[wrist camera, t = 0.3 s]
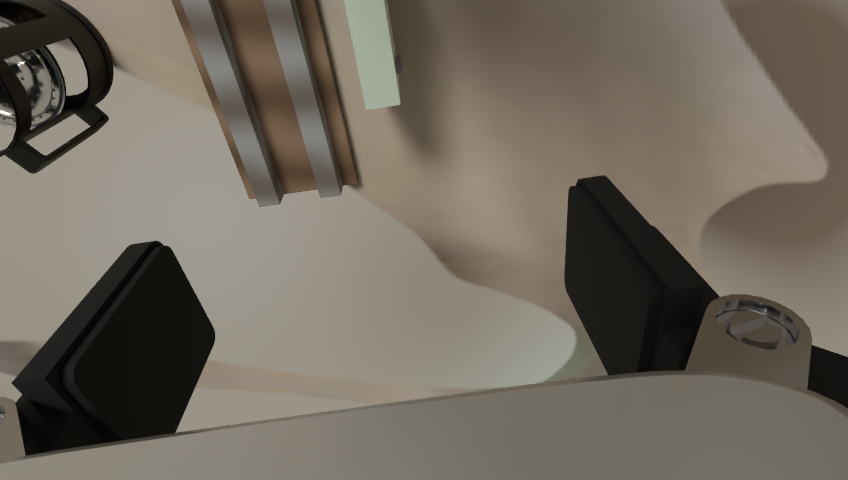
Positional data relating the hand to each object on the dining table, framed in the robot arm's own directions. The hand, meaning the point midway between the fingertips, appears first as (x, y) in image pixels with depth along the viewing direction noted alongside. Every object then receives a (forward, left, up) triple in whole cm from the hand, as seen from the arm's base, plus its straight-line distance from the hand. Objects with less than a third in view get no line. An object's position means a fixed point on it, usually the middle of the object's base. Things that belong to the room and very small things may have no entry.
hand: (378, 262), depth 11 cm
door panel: (-2, -1, -34) cm, 34 cm away
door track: (+4, -11, -34) cm, 36 cm away
